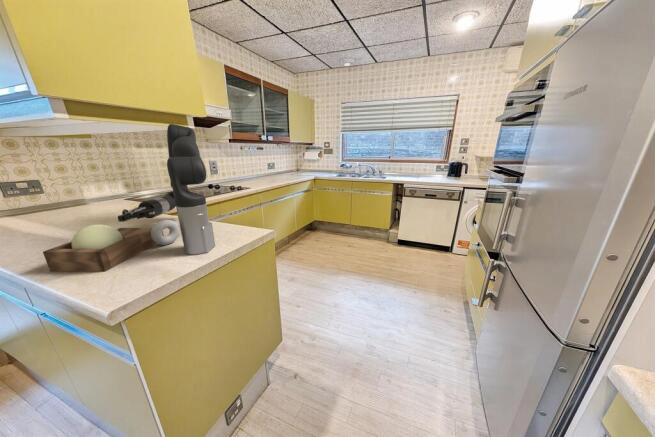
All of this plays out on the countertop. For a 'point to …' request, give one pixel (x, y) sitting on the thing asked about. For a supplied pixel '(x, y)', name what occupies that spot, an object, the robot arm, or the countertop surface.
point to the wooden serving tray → (100, 252)
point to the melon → (95, 237)
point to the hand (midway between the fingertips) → (120, 219)
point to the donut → (159, 227)
